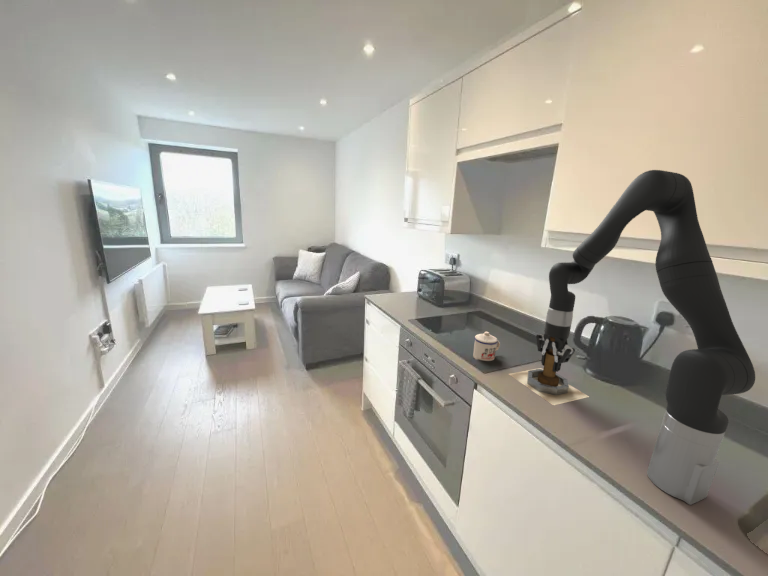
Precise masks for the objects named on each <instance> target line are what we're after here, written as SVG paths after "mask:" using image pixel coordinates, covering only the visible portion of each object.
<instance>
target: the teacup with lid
mask: <svg viewBox="0 0 768 576" xmlns="http://www.w3.org/2000/svg"><path fill="white" fill-rule="evenodd" d="M500 346H501V342H500V341H499V340H498V338H497V337H496V336H493V335H492V334H490V332H489V331H484V333H478V334H476V335H475V336H474V345H473V355H472V358H474V360H475V361H476V360H479V361H485V362H491V361H494V360H495V359H496V353H497V351H498V350H499V349H500V348H501V347H500Z"/></svg>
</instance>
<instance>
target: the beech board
mask: <svg viewBox="0 0 768 576" xmlns="http://www.w3.org/2000/svg"><path fill="white" fill-rule="evenodd" d="M535 369H536V368H534V369H527V370H522V371H517V372H512V373H508V375H509V376H511V377H512V378H514V380H516V381H517V382H519V383H520V384H522V385H524V386H525V387H527V388H528V389H529V390H530V391H532V392H533V393H535V394H536V395H538V396H539V397H540V398H542V399H543V400H545V401H546V402H547V403H549V404H551V405H552V406H558V405H562V404H566V403H570V402H573V401H578V400H582V399H586V398H587V399H588V398H590V396H589V395H587V394H586V393H584V392H582V391H580V390H579V389H578V388H576V387H574V386H572V385H570V384H569V383H568V386H569V388H568V393H566V394H562V395H557V396H555V395H551V394H547V393H543V392H539V391H537V390H536V389H534V388H533V387H532V386H530V385H529V384H527V376H528V371H530V370H535ZM537 369H542V370H543V369H544V368H541V367H540V368H539V367H538V368H537ZM534 379H535V380H537V381H538V377H535V378H534ZM558 386H562V385H560V384H559V383H558Z"/></svg>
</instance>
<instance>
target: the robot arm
mask: <svg viewBox="0 0 768 576" xmlns="http://www.w3.org/2000/svg"><path fill="white" fill-rule="evenodd" d="M645 211H651V212H653V214H654V216H655V218H656V221H657V222H658V226H659V230H660V243H659V246H658V250H657V251H656V252H657V253H656V257H655V261H654V262H655V272H656V275H657V278H658V282H659V285H660V289H661V292H662V294H663V295H664V296H665V298H666V299H667V301H668V302H669V303H670V305H671V306H673V308H675V310H676V311H677V312H678V313H679V314H680V315H681V317H683V319H684V320H685V321H686V322H687V324H688V325H689V327H690V329H691V331H692V333H693V336H694V339H695V344H696V346H697V348H694V349H693V348H692V349H687V350H683V351H681V352H680V353H679V354H677V355H676V357H675V359H674V360H673V362H672V365H671V367H670V371H669V375H668V381H667V384H666V389H665V400H666V408H665V412H664V414H663V418H662V421H661V424H660V428H659V431H658V435H657V438H656V440H655V445H654V448H653V450H652V455H651V457H650V460H649V464H648V468H647V472H646V474H647V476H648V478H649V479H650V481H651V482H652V483H653V484H654V485H655V486H656V487H657V488H659V489H660V490H662V491H663V492H665V493H666V494H668V495H669V496H672V497H673V498H676V499H679V500H681V501H683V502H685V503H687V505H690V506H691V505H694V504H695V503H698V502H700V501H702V500H704V499H706V498H707V496H708V494H709V491H710V489H711V486H712V483H713V480H714V477H715V476H716V473H717V470H718V466H719V464H720V461H719V460H718V459H717V456H718V453H719V450H720V448H721V446H722V445H721V444H722V443H723V440H724V437H725V434H726V431H727V429H728V425H729V423H730V422H729V418H728V416H727V415H726V414H725V413H724V412H723V411H722V410H720V409H719V405H720V404H721V403H720V402H721V399H722V396H727V395H740V394H744V393H746V392H748V391H750V390H751V389H752V388H753V387H754V384H755V382H756V371H755V368H754V365H753V362H752V360H751V358H750V355H749V354H748V352H747V349H746V348H745V345H744V344H743V341H742V339H741V338H740V335H739V334H738V331H737V329H736V327H735V325H734V322H733V321H732V317H731V314H730V311H729V309H728V306H727V302H726V301H725V297H724V295H723V292H722V288H721V285H720V281H719V278H718V275H717V272H716V271H717V270H716V269H715V267H714V263H713V259H712V258H711V255H710V252H709V249H708V246H707V243H706V239H705V236H704V234H703V231H702V229H701V225H700V222H699V217H698V212H697V207H696V200H695V195H694V189H693V186H692V183H691V181H690V180H689V178H688V177H687V176H685V175H683V174H682V173H678V172H673V171H668V170H662V169H661V170H660V169H652V170H651V169H650V170H645V171H644V172H642V173H641V174H639V175H638V176H636V177H635V178H634V180H632V181H631V183H630V184H629V185H628V186H627V187H626V189H625V190H624V191H623V192H622V194H621V195H620V197H618V199H617V200H616V203H614V205H613V206H612V208H611V209H609V212H607V214H606V215H605V217H604V218H603V219H602V221H601V222H600V223H599V225H597V227H596V228H595V229H594V230H593V231H592V232H591V234H589V236H587V238H586V239H584V241H583V242H581V244H579V245H578V246H577V247H576V248H575V250H574V251H573V252H572V258H573V261H571V262H557V263H554V264H553V266H552V267H551V268H550V270H549V272H548V281H549V291H550V300H549V304H548V305H549V306H548V309H547V312H546V317H545V322H544V327H543V332H544V334H543V333H540V334H539V333H538V334H536V336H535V337H536V345H537V346H536V347H537V352H539V353H541V360H540V362H541V365H542V366H543V367H544V363H545V357H546V352H547V351H550V348H551V349H552V350H553V355H554V357H555V361H554V365H553V371H554V372H556V373H557V372H560V371H561V368H562V364H565V363H568V362H569V361H570V359H571V357H572V356H573V355H574V354H575V352H576V348H574V347H571V346H570V345H569V343H568V339H569V337H570V333H571V328H572V324H573V323H572V322H573V318H574V314H573V313H574V307H575V302H576V295H575V293H574V292H572V291H569V289H568V288H569V287H568V286H569V285H576V284H579V283H581V282H583V281H585V280H586V279H587V278H588V276H589V275H590V274H591V272H592V271H593V269H594V267H595V265H597V264H598V263H599V262H601V260H602V259H604V258H605V257H606V256H608V254H609V253H611V252H612V250H614V248H615V247H616V245H617V243H618V241H619V239H620V237H621V236H622V232H623V231H624V230H625V228H626V227H627V225H629V224H630V223H631V221H632V220H633V219H635V218H637V217H638V216H639V215H641V214H642V213H643V212H645ZM550 337H554V338H555V341H554V342H552V341H551V340H550Z"/></svg>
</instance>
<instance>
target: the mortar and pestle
mask: <svg viewBox="0 0 768 576" xmlns="http://www.w3.org/2000/svg"><path fill="white" fill-rule="evenodd" d="M550 340H551V341H552V342H554V341H555V338H554V337H550ZM554 361H555V357H554V355H553V350H552V349H551V348H550V351H547V352H546V357H545V363H544V366H543V368H542V369H543V372H540V373H539V374H538V382H540V383H541V384H545V385H549V386H554V387H557V386H558V383H559V378H558V377H557V376H556V373H557V372H554V371H553V365H554Z"/></svg>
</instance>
